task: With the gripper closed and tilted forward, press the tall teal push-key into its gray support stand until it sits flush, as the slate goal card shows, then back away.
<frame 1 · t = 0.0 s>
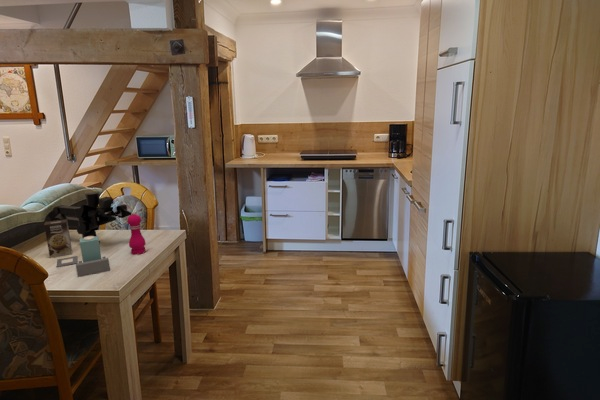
hand: (123, 216, 187), 17 cm above the table, tool horizontal, fingers open, 9 cm apart
goal card: (67, 261, 176), on the table
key: (91, 251, 169), point 7 cm above the table, slide at 0.0 cm
gray support stand: (93, 266, 171), on the table
pepper mill: (138, 252, 186), on the table
cookie box: (61, 254, 186), on the table
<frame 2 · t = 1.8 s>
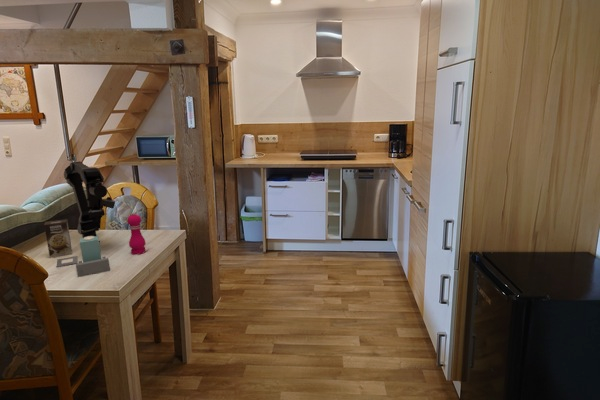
hand: (98, 226, 187), 12 cm above the table, tool pointing down, fingers open, 5 cm apart
nothing on the table moved.
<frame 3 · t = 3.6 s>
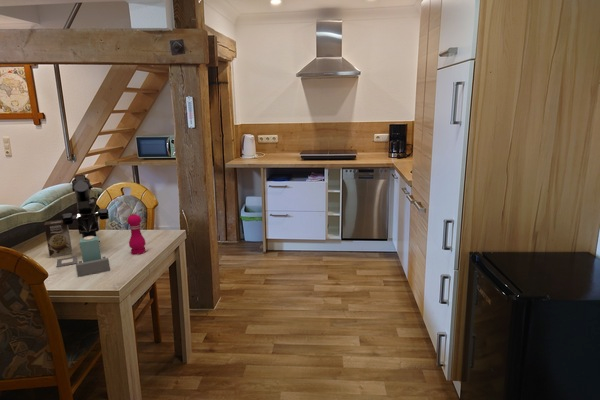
hand: (88, 232, 178), 12 cm above the table, tool tilted 45°, fingers closed
nothing on the table moved.
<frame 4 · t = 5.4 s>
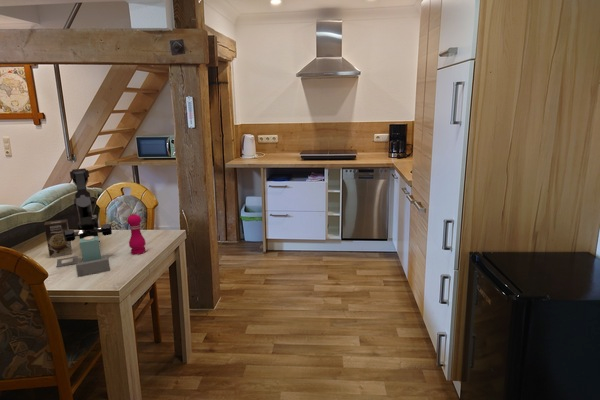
hand: (90, 249, 172), 7 cm above the table, tool tilted 45°, fingers closed, pressing on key
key: (91, 251, 169), point 7 cm above the table, slide at 0.2 cm, touching gripper
everything else where it was.
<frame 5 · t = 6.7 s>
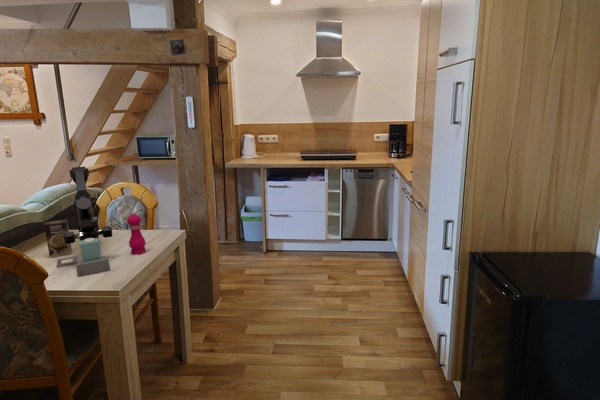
hand: (91, 251, 169), 7 cm above the table, tool tilted 45°, fingers closed
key: (91, 253, 166), point 7 cm above the table, slide at 3.1 cm
everything else where it was.
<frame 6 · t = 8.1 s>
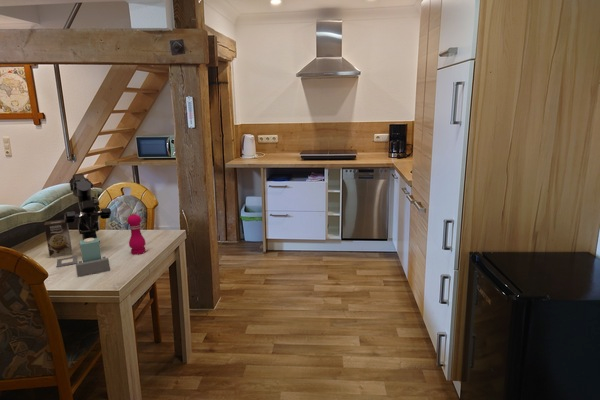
hand: (91, 231, 179), 12 cm above the table, tool tilted 40°, fingers closed
nothing on the table moved.
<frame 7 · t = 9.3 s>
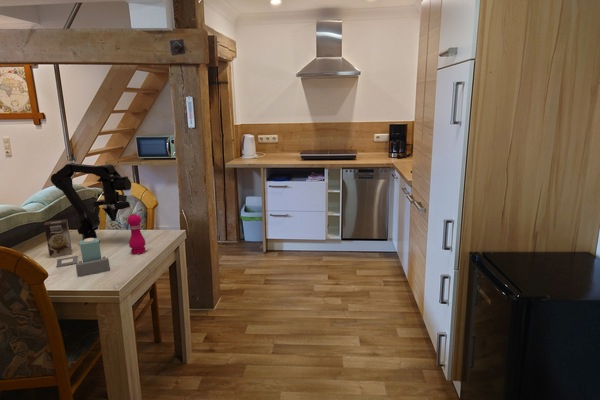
hand: (113, 221, 196), 12 cm above the table, tool pointing down, fingers closed
nothing on the table moved.
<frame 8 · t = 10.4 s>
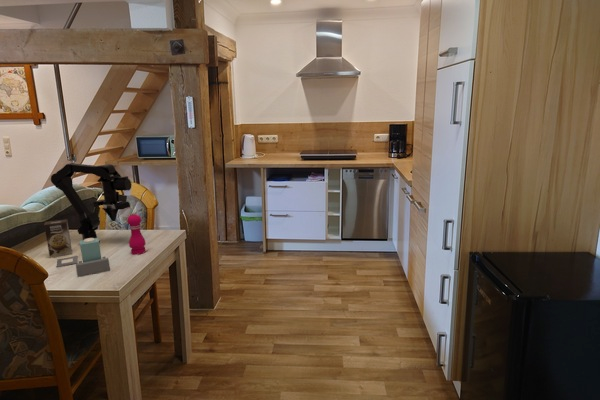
hand: (113, 221, 196), 12 cm above the table, tool pointing down, fingers closed
nothing on the table moved.
at the end: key slide at 3.1 cm; pepper mill moved 0.2 cm from its start; cookie box moved 0.2 cm from its start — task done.
